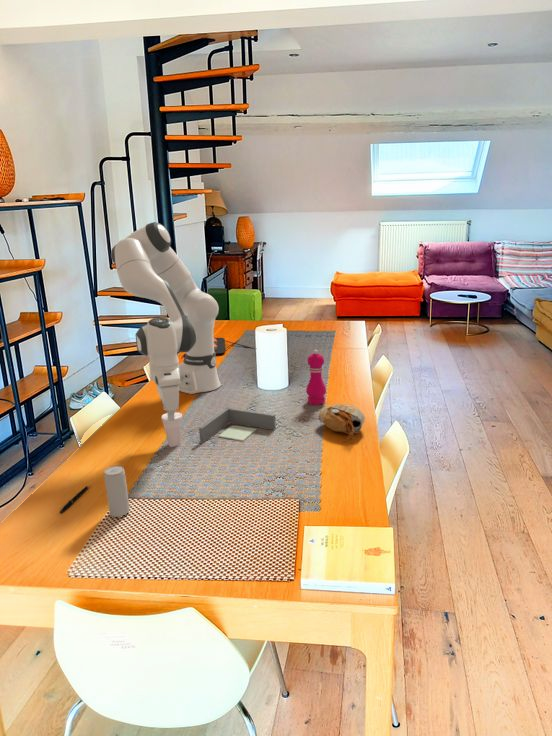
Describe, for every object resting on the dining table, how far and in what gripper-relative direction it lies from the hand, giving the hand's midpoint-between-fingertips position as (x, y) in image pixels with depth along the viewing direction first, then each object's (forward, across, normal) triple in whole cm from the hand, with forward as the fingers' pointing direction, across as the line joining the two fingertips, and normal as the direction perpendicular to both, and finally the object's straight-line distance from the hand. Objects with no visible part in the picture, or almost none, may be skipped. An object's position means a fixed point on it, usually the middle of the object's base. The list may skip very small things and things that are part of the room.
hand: (168, 414), depth 172 cm
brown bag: (+10, +13, +53) cm, 56 cm away
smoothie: (+10, 0, +1) cm, 10 cm away
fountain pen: (+11, +23, -29) cm, 38 cm away
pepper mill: (+10, -15, +56) cm, 59 cm away
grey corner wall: (+10, +2, +22) cm, 24 cm away
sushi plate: (+10, -102, +44) cm, 111 cm away
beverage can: (+11, +34, -18) cm, 40 cm away
